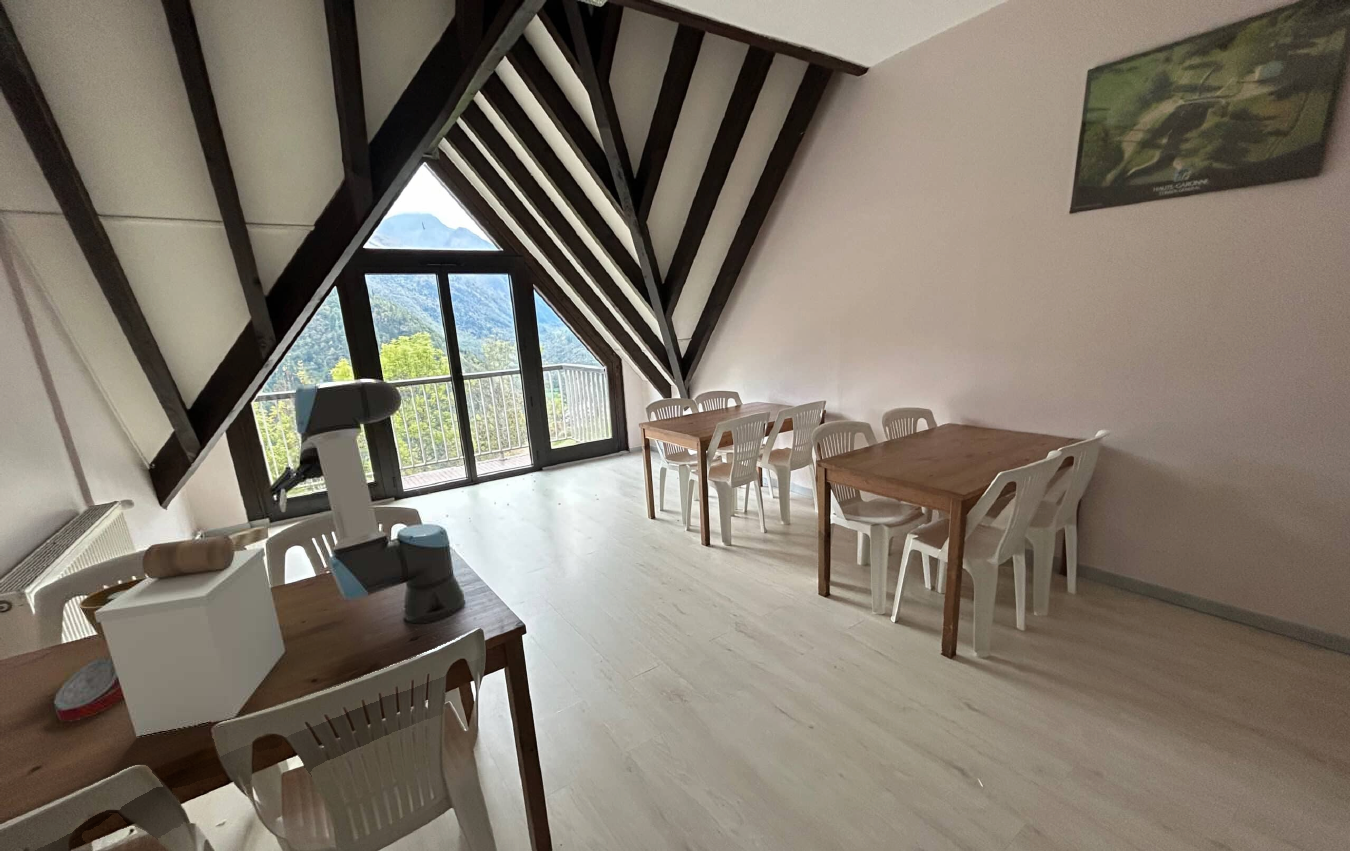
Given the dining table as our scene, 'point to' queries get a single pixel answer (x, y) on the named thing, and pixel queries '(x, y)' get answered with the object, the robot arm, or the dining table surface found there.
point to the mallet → (197, 554)
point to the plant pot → (103, 603)
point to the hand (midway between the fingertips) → (312, 503)
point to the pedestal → (193, 643)
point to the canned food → (89, 690)
